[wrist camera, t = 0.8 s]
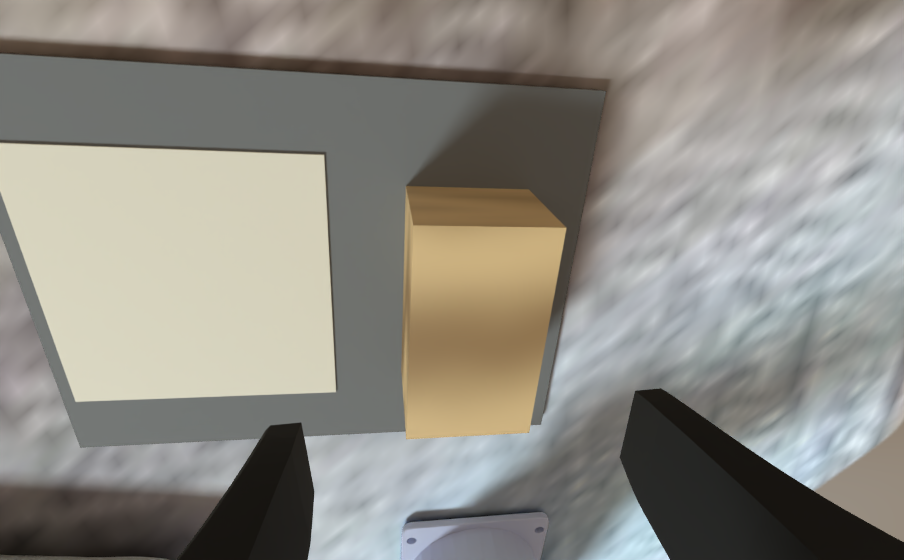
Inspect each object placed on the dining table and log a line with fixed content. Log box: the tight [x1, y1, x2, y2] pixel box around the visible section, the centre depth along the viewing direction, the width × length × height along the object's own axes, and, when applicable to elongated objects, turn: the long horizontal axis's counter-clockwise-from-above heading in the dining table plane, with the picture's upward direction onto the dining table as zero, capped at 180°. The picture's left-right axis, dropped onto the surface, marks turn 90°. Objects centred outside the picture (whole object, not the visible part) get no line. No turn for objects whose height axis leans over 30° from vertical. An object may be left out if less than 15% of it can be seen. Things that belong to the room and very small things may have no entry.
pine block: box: [401, 186, 566, 439], centre depth 17 cm, size 8×4×4 cm, turn 176°
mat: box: [0, 53, 606, 448], centre depth 18 cm, size 15×20×1 cm
